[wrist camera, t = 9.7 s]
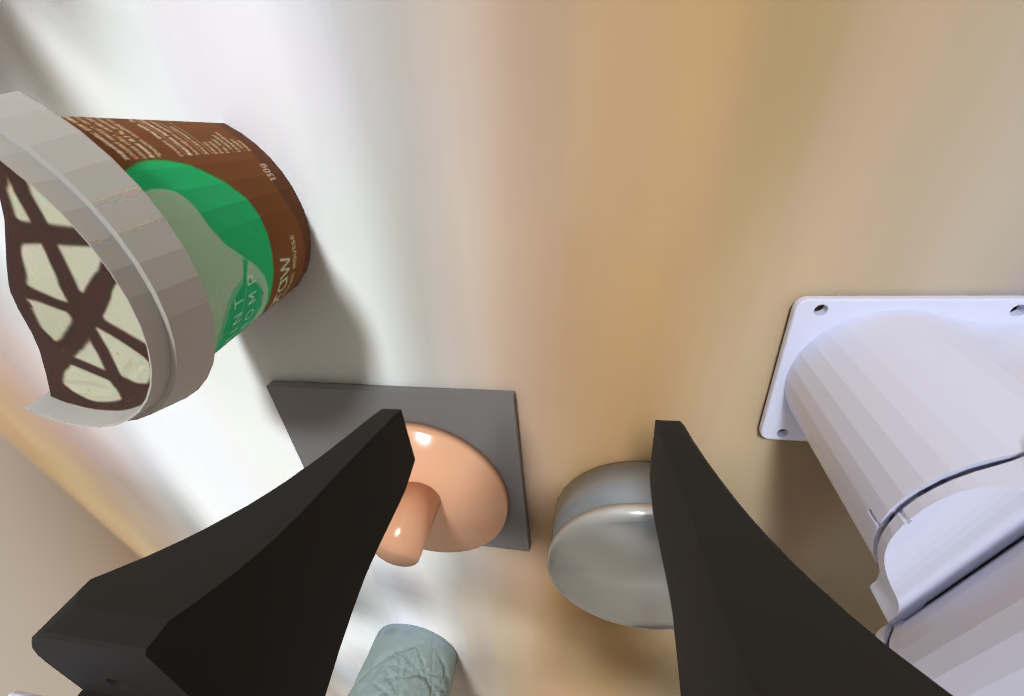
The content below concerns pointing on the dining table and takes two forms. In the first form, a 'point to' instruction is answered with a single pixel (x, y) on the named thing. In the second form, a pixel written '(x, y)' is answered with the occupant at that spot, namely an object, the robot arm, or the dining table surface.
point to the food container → (139, 252)
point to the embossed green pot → (406, 664)
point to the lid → (445, 499)
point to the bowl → (611, 547)
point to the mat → (463, 412)
